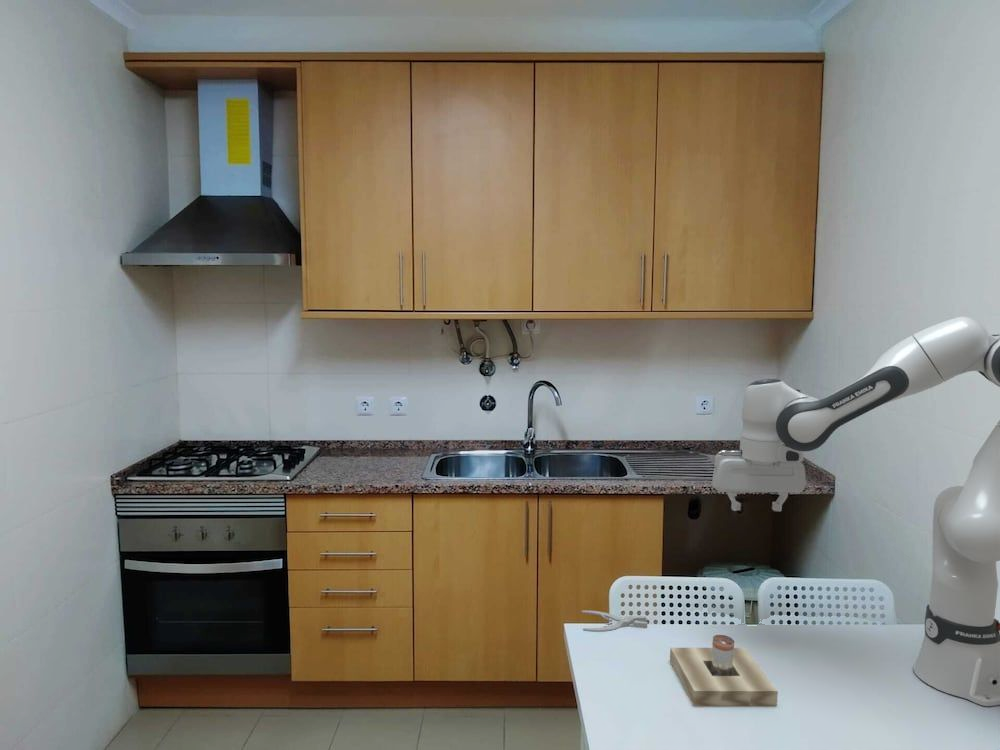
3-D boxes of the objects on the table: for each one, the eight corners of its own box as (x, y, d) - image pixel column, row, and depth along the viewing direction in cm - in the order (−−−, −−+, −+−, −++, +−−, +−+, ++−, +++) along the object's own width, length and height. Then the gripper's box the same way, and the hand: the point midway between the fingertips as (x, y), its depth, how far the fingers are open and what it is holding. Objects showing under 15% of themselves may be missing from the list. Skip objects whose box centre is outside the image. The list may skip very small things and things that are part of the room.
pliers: (581, 606, 168) (644, 610, 167) (581, 612, 169) (643, 616, 167) (583, 625, 159) (649, 629, 157) (583, 632, 159) (649, 636, 158)
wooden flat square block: (743, 661, 147) (744, 647, 147) (776, 705, 131) (777, 691, 131) (669, 660, 147) (670, 647, 146) (693, 705, 131) (694, 691, 130)
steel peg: (726, 676, 141) (729, 634, 140) (734, 688, 137) (737, 645, 136) (707, 676, 141) (709, 634, 140) (714, 688, 137) (716, 645, 136)
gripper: (719, 453, 152) (716, 514, 153) (811, 454, 153) (806, 515, 154) (709, 446, 158) (706, 505, 160) (797, 448, 159) (793, 506, 160)
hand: (756, 510), depth 157 cm, fingers open, 8 cm apart
